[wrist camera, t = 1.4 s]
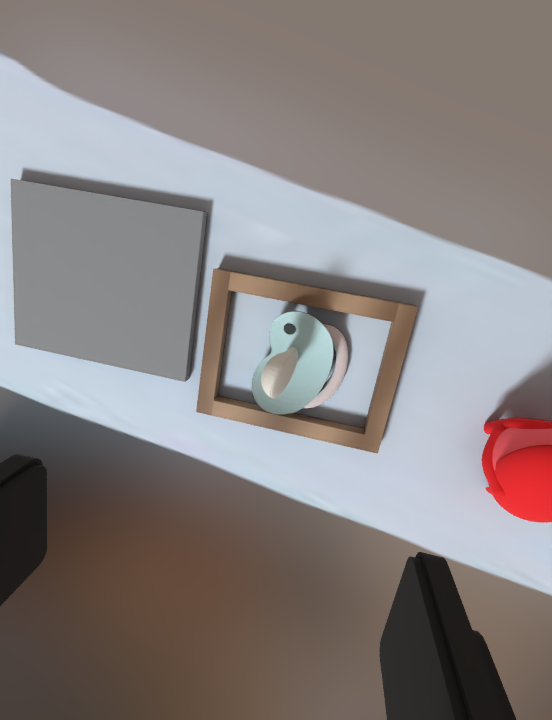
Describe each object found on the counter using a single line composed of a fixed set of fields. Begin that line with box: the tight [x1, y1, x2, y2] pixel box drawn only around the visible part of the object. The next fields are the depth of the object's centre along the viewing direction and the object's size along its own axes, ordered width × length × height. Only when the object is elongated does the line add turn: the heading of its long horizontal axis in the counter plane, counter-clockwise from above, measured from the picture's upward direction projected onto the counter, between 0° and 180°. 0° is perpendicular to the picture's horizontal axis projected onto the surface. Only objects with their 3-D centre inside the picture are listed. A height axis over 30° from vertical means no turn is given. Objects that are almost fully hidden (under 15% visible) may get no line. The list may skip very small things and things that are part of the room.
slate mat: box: [11, 179, 207, 382], centre depth 28 cm, size 14×12×1 cm
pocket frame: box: [196, 269, 418, 453], centre depth 27 cm, size 14×11×1 cm
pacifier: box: [252, 311, 348, 414], centre depth 25 cm, size 7×6×6 cm
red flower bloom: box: [482, 418, 552, 522], centre depth 24 cm, size 8×6×6 cm
